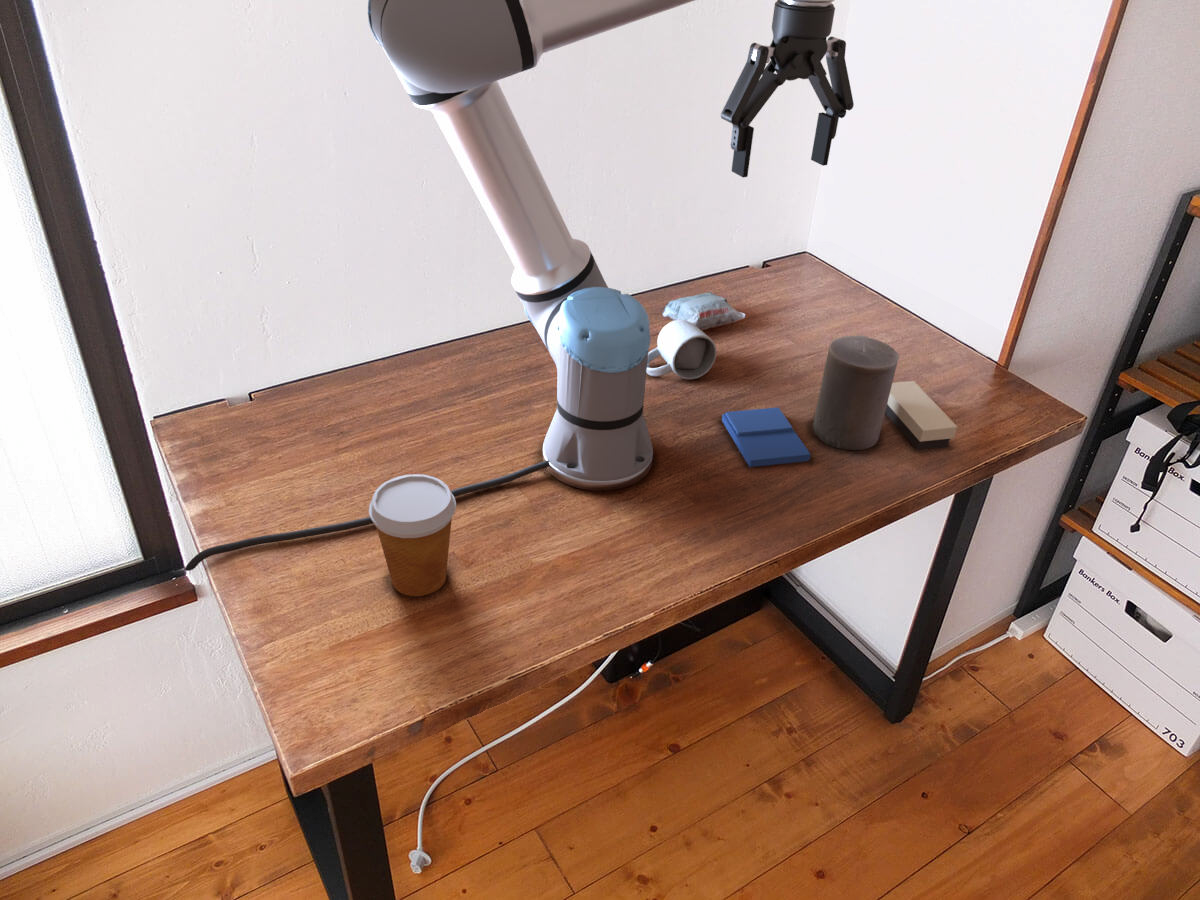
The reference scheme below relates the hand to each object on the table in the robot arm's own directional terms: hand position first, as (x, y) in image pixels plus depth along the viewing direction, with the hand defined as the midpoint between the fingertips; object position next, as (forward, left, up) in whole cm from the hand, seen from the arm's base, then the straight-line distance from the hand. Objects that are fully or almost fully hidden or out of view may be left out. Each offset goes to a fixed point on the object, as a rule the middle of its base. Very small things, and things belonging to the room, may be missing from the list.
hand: (779, 168), depth 132 cm
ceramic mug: (-10, +6, -35) cm, 37 cm away
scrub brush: (+21, -15, -35) cm, 43 cm away
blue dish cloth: (-3, -15, -35) cm, 38 cm away
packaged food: (-1, +20, -35) cm, 40 cm away
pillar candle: (+10, -15, -35) cm, 39 cm away
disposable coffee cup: (-54, -36, -35) cm, 74 cm away
